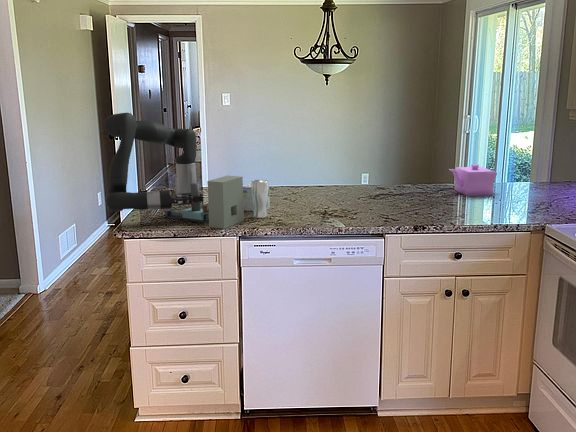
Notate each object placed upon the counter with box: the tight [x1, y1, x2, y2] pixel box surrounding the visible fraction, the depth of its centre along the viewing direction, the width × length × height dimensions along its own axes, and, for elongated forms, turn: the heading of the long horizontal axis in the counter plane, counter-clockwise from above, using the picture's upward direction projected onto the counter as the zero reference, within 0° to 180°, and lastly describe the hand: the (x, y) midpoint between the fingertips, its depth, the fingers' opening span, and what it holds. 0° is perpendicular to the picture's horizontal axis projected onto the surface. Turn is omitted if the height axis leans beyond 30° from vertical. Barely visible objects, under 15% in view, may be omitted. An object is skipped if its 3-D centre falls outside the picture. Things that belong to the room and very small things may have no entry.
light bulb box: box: [243, 183, 271, 212], centre depth 243 cm, size 11×7×11 cm, turn 71°
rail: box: [164, 207, 209, 224], centre depth 228 cm, size 25×5×3 cm, turn 62°
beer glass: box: [251, 179, 269, 219], centre depth 230 cm, size 7×7×15 cm
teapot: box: [448, 163, 498, 197], centre depth 274 cm, size 15×25×14 cm, turn 97°
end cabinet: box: [207, 174, 245, 230], centre depth 219 cm, size 8×14×18 cm, turn 152°
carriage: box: [180, 182, 209, 220], centre depth 225 cm, size 11×7×14 cm, turn 62°
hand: (202, 197), depth 226 cm, fingers closed on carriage, 3 cm apart
